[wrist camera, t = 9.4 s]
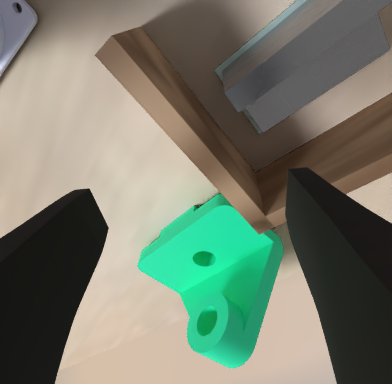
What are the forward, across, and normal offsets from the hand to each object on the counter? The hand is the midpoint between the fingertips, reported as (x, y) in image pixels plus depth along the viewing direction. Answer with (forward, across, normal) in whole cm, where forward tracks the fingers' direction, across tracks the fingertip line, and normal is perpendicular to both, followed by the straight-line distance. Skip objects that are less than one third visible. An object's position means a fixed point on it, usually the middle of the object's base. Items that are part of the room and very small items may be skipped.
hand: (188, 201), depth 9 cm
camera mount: (+11, +2, +13) cm, 17 cm away
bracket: (+10, -6, -2) cm, 12 cm away
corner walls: (+10, -6, -2) cm, 12 cm away
